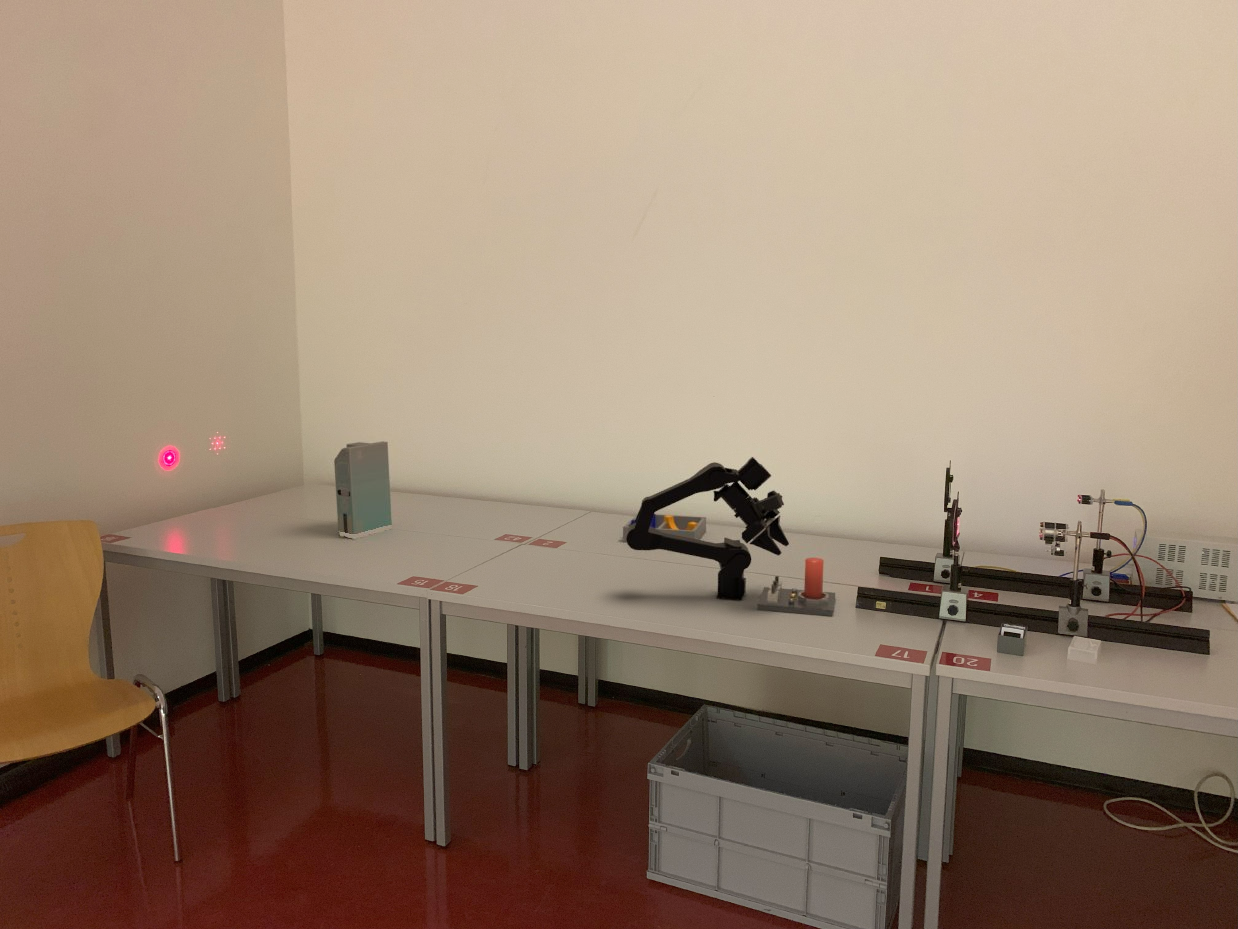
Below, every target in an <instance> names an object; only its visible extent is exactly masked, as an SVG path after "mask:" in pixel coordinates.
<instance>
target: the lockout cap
mask: <svg viewBox="0 0 1238 929" xmlns="http://www.w3.org/2000/svg"><path fill="white" fill-rule="evenodd" d="M823 583H824V559H823V558H819V557H807V558H805V560H804V586H803V588H804V589H803V590H804V597H806V598H811V599H821V598H822V592H824V591H823V586H824V585H823Z"/></svg>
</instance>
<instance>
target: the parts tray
mask: <svg viewBox="0 0 1238 929" xmlns="http://www.w3.org/2000/svg"><path fill="white" fill-rule="evenodd" d="M654 514H655V529H657V530H659V531H661V532H663V533H667V534H672V535H677V536H682V537H687V538H692V539H697V540H702V538H703V537H704V536H705V534H706V532H707V517H706V516H691V515H677V514H676V515H675V514H674V515H672V514H670V515H671V516H674V523H675V525H676V527H677V528H678V529H679V530H676V529H667V522H665V521H664V516H667V515H668V514H658V513H657V514H656V513H654ZM636 517H637V515H635V516H634V517H633V518H632V519H631V520H633V519H634V520H636ZM631 520H630V521H628V522H627V523H626V524H625V525H623V526H622V543H626V542H627V541H626V536H627V530H628V528H629V527H630V525H631ZM663 521H664V522H663ZM690 522H695V523H698V526H695V527H694V529H693V530H686V528H687V526H688V523H690Z"/></svg>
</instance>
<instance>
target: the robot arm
mask: <svg viewBox="0 0 1238 929" xmlns="http://www.w3.org/2000/svg"><path fill="white" fill-rule="evenodd" d="M771 477H772V474H771V473H770V472H769V471H768V470H767V468H766V467H764V466H763V464H762V463H760V462H758V460H756V458H755V457H754V456H751V457H750V458H749V459H748V460H747V461H746V462H745V464H744V465H742V466H741V467H740V468H739V469H734V468H728V467H725V466H724V465H723V464H721V463H720V462H710V463H708V464H706V465H705V466H704V467H703V468H701V469H699V470H698V471H697V472H696V473H695V474H694V475H692V476H691V477H689V478H687V479H685V480H683V481H681V482H678V483H677V484H674V485H672V486H670V487H667V488H666V489H663V490H661V491H658V492H656V493H654V494H652V495H650V496H649V495H648V496H645V497H644V498H643V499H642V501H641V505H640V507H639V510H638V512H637V515H636V516H637V517H636V520H635V522H634V523H633V524H632V525H630V527H629V528H628V530H627V536H626V541H627V545H628V547H629V548H630V549H632V550H634V551H654V550H663V551H668V552H673V553H678V554H682V555H688V556H692V557H698V558H703V559H707V560H713V561H715V562H718V564H719V568H720V569H719V571H718V572H717V593H716V596H715V598H716V599H720V600H721V599H723V600H736V601H742V599H743V598H744V596H745V595H746V593H747V591H746V590H747V588H746V587H747V578H746V577H744V576H745V570H746V569H748V568H749V566H751V563H752V555H751V553H750V551H749V548H748V546H747V545H746V544H748V543H749V545H752V546H755V547H758V548H760V549H763V550H765V551H767V552H770V553H771V554H774V555H775V556H780V555H782V553H783V552H782V551H781V549H780V547H779V546H778V545H777V543H779V544H781V545H782V546H784V547H788V546H789V545H790V543H789V540H788V538H787V537H786V535H785V532H784V531H783V529H782V527H781V525H780V523H781V522H780V520H781V514H780V513H781V511H780V510H779V509H781V508H783V506H784V505H785V503H784V501H783V495H781V494H780V492H777V491H776V490H773V489H772V490H771V491H768V492H767V496H766V497H765V498H763V499H760V500H759V499H758V498H757V497H752V496H751V495H750V494H749V493H748V491H753V490H754V491H756V490H758V489H760V487H761V486H762V485H764V484H765V483H766V482H767V481H768V480H769V479H770V478H771ZM740 482H741V484H742V485H743V486H744V487H745V488H746V489H747V490H748V491H746V489H745V488H744V487H743V486H742V485H741V484H740ZM729 484H730V485H729ZM718 489H719V490H718ZM712 491H713V502H717V501H719V500H720V499H722V500H723V501H724V502H725V503H726V505H727V506H729V508H730V509H731V510H732V511H733V512H734V513H735V514H734V515H733V516H734V517H735V518H736V519H738V518H739V519H740V520H741V521H742V522H743V523H744V525H746V526H745V529H744V530H743V531H742V532H741V539H742V540H743V541H744V542H745V543H746V544H745V543H743V542H741V540H740V539H731V538H728V537H724V539H723V542H717V543H715V542H711V541H706V540H702V539H700V540H697V539H692V538H687V537H682V536H677V535H672V534H667V533H663V532H661V531H659V530H657V529H655V528H653V527H651V526H650V525H651V522H652V518H653V516H654V514H656V512H658V511H660V510H662V509H665V508H667V507H670V506H671V505H674V504H676V503H678V502H680V501H682V500H684V499H687V498H689V497H691V496H693V495H695V494H699V493H704V492H706V493H707V492H712ZM751 540H752V541H751ZM775 541H776V542H777V543H776V542H775Z"/></svg>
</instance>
